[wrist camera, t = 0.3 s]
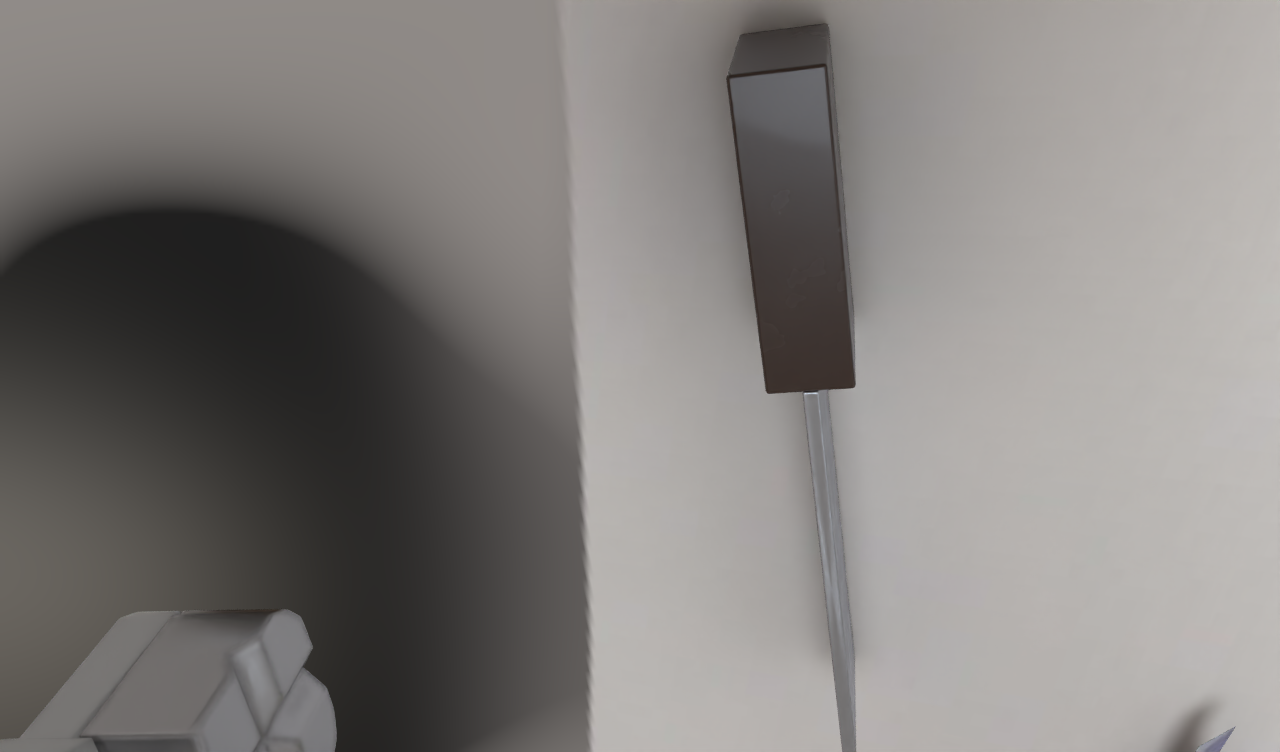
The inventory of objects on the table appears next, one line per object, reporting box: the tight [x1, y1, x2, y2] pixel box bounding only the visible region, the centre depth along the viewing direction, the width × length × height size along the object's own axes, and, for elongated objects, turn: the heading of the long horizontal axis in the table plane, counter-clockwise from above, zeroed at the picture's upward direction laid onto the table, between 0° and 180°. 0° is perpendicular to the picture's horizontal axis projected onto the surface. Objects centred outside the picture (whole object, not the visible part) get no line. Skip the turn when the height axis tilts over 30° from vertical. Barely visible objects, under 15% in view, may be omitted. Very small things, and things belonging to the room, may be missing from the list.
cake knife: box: [726, 24, 856, 752], centre depth 33 cm, size 20×2×4 cm, turn 9°
